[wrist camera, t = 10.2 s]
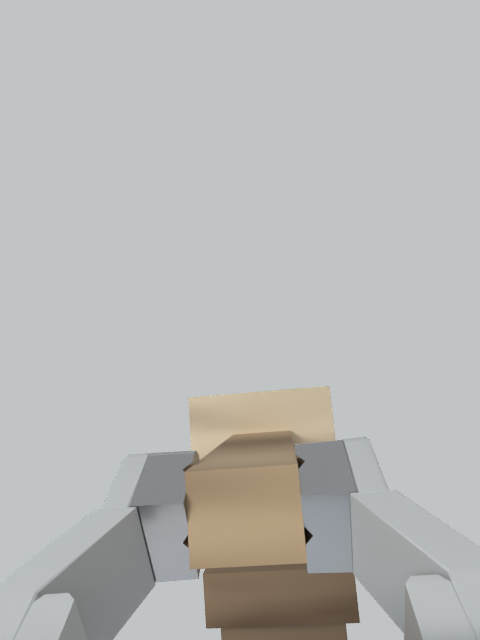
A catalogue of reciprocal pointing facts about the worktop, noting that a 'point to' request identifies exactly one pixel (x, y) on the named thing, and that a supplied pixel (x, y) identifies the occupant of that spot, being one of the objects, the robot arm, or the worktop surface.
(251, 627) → the walnut stand
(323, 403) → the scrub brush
